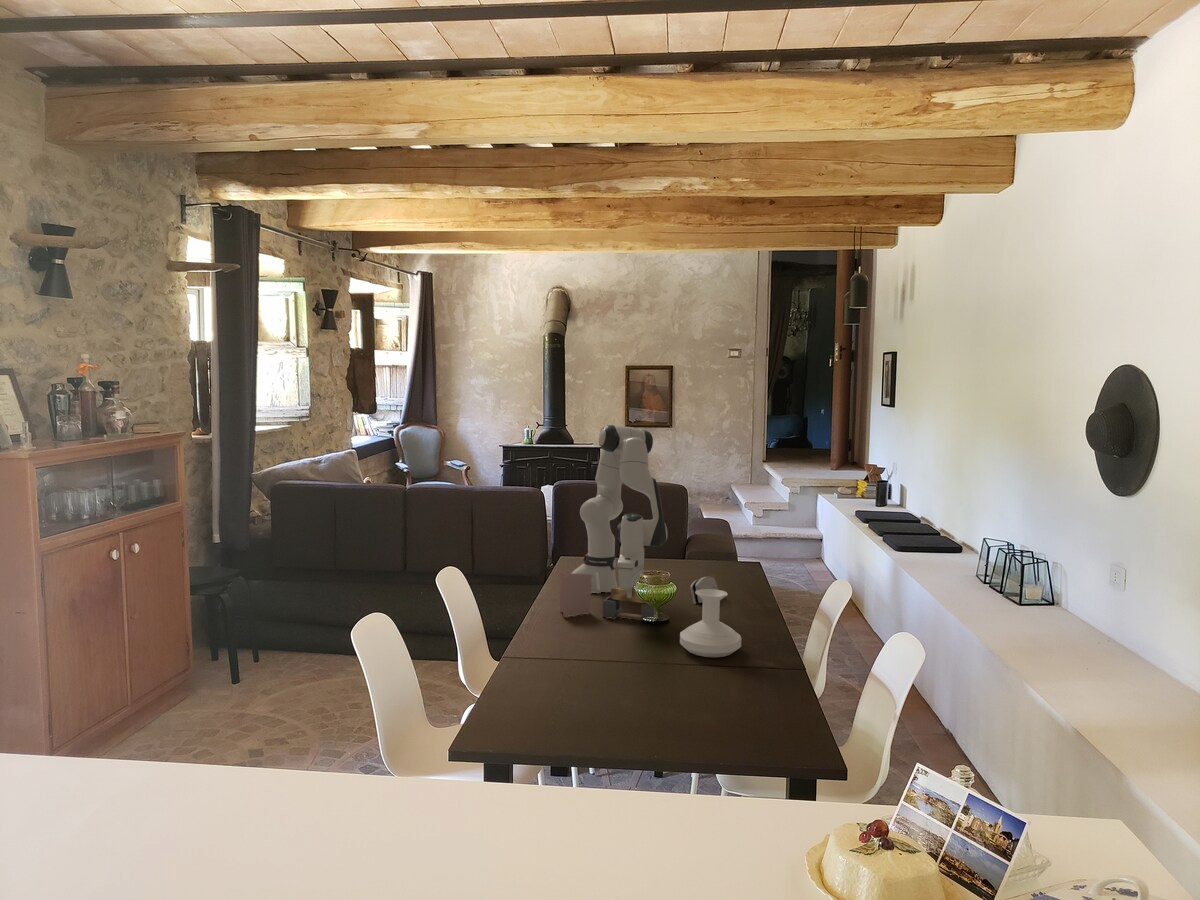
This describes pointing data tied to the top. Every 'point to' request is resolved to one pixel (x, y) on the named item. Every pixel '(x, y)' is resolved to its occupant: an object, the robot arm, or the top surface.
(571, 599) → the greeting card
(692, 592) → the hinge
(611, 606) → the end cap frame
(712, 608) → the candle holder
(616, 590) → the oak slat
